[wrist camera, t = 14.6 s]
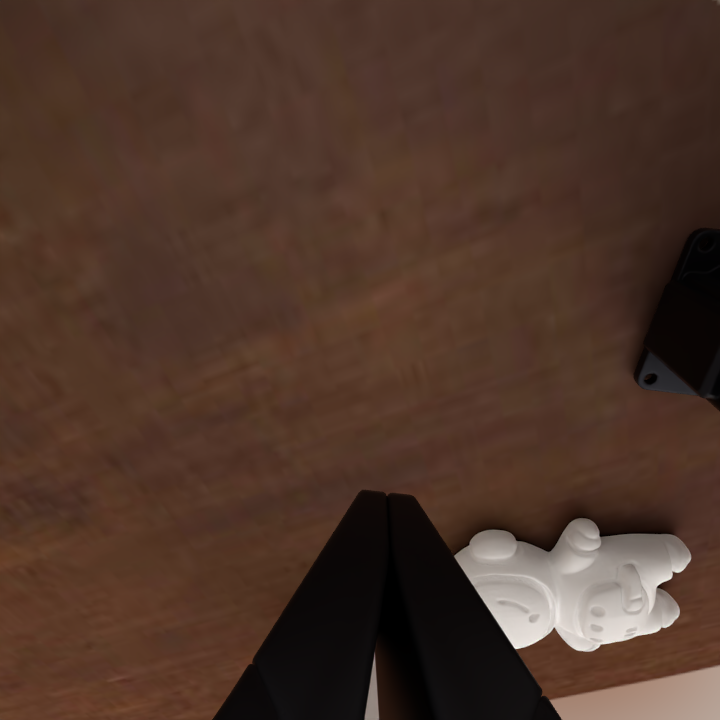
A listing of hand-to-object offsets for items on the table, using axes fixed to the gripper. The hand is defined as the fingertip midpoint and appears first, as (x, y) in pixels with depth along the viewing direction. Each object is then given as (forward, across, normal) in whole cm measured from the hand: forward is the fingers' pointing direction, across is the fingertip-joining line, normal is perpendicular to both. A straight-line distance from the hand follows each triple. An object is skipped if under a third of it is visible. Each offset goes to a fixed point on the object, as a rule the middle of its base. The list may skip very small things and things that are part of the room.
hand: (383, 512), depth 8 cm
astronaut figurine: (+13, -11, +15) cm, 23 cm away
